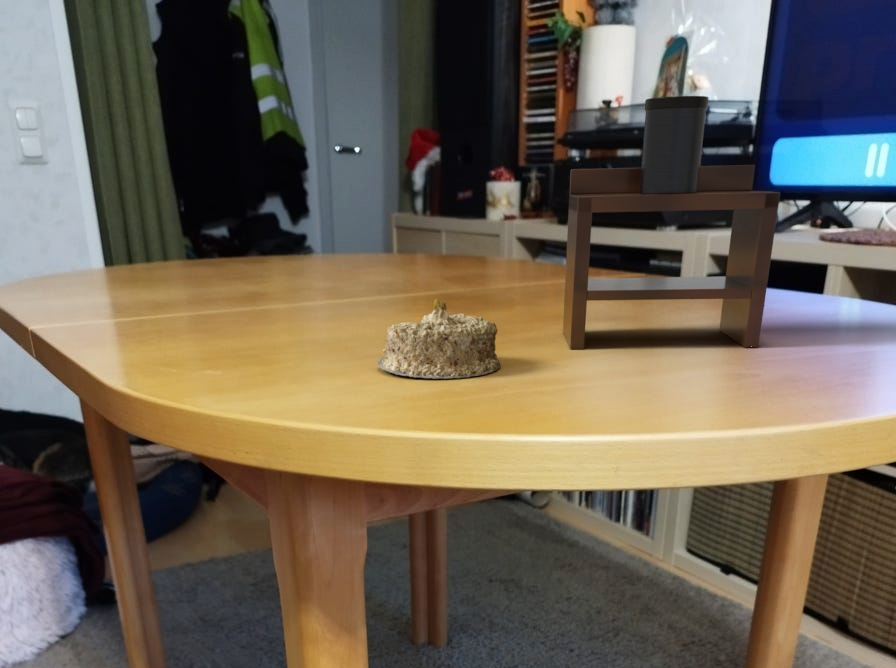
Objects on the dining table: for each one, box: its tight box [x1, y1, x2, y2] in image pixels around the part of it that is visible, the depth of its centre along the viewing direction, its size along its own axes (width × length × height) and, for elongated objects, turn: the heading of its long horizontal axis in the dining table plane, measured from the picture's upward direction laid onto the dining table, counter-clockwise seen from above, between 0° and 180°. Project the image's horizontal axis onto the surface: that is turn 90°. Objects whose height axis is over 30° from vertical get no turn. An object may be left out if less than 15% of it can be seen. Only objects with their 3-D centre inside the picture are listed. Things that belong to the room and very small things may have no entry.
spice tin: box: [639, 95, 709, 194], centre depth 77 cm, size 5×5×7 cm
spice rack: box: [562, 164, 781, 350], centre depth 81 cm, size 16×10×14 cm, turn 86°
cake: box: [376, 298, 502, 380], centre depth 73 cm, size 10×10×5 cm
